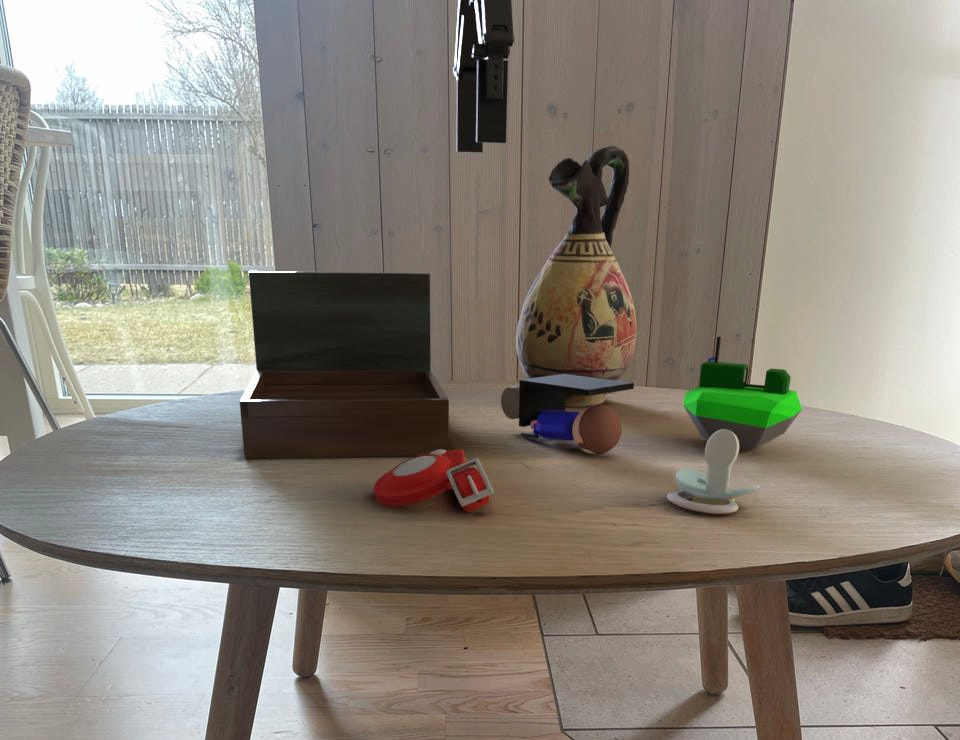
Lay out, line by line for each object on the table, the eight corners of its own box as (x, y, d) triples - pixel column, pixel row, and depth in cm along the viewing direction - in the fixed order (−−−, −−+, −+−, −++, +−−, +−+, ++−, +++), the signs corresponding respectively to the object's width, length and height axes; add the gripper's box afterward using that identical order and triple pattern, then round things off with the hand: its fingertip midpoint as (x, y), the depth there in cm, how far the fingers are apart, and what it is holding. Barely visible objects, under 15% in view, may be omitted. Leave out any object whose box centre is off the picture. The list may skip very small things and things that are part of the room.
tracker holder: (348, 491, 75) (403, 439, 82) (367, 538, 78) (419, 483, 85) (477, 476, 69) (524, 421, 77) (494, 527, 72) (538, 470, 79)
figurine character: (497, 448, 102) (588, 460, 90) (494, 377, 100) (587, 380, 88) (544, 441, 106) (637, 452, 94) (542, 373, 103) (638, 375, 92)
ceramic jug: (577, 416, 112) (593, 137, 100) (490, 398, 123) (495, 143, 110) (662, 401, 123) (687, 147, 110) (576, 386, 133) (590, 152, 121)
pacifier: (722, 524, 73) (765, 509, 77) (730, 446, 70) (775, 434, 74) (650, 504, 78) (694, 490, 82) (655, 430, 75) (701, 419, 79)
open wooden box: (448, 455, 93) (449, 285, 86) (244, 458, 90) (228, 283, 83) (430, 415, 112) (429, 273, 105) (261, 416, 109) (249, 271, 102)
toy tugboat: (666, 451, 96) (677, 341, 91) (697, 431, 105) (708, 330, 101) (784, 466, 91) (802, 350, 86) (805, 444, 100) (822, 338, 96)
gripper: (556, -169, 72) (543, 139, 81) (499, -77, 95) (495, 156, 104) (461, -176, 71) (459, 136, 80) (427, -82, 94) (428, 154, 102)
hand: (479, 148), depth 92 cm, fingers open, 13 cm apart
